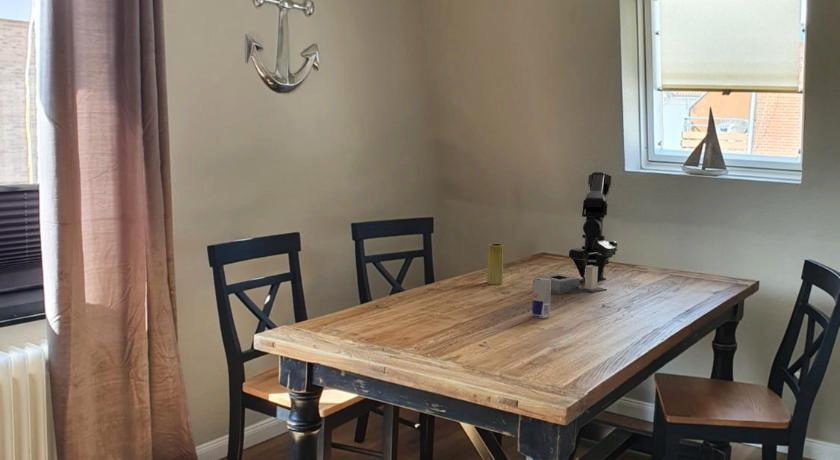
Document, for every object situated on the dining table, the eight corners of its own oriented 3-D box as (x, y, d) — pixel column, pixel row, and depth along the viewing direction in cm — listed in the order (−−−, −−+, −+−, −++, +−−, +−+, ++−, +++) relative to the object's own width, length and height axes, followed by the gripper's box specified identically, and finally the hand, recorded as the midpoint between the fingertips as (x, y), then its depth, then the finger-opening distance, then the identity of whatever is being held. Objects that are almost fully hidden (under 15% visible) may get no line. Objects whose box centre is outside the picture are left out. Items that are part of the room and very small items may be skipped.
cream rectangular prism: (590, 287, 306) (591, 265, 305) (596, 288, 304) (598, 266, 303) (584, 288, 305) (585, 266, 303) (591, 289, 302) (592, 267, 301)
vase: (503, 281, 315) (504, 243, 313) (503, 285, 309) (504, 246, 307) (486, 281, 316) (487, 242, 314) (486, 284, 310) (487, 245, 308)
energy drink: (530, 314, 267) (531, 276, 265) (547, 314, 268) (548, 276, 266) (534, 318, 262) (535, 280, 260) (551, 318, 262) (552, 280, 261)
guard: (557, 285, 310) (558, 273, 309) (579, 290, 302) (579, 278, 302) (538, 289, 304) (538, 276, 303) (559, 294, 296) (560, 281, 295)
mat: (589, 286, 310) (589, 285, 310) (606, 290, 304) (606, 289, 304) (574, 288, 305) (574, 287, 305) (591, 293, 299) (591, 291, 299)
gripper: (593, 237, 289) (591, 283, 292) (628, 233, 301) (626, 276, 303) (568, 233, 298) (566, 277, 300) (603, 229, 310) (601, 271, 312)
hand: (591, 276), depth 304 cm, fingers open, 9 cm apart
